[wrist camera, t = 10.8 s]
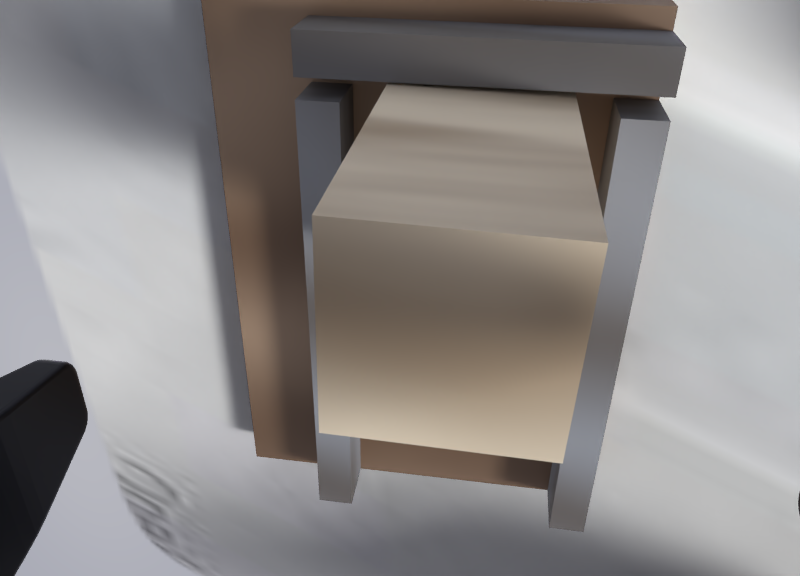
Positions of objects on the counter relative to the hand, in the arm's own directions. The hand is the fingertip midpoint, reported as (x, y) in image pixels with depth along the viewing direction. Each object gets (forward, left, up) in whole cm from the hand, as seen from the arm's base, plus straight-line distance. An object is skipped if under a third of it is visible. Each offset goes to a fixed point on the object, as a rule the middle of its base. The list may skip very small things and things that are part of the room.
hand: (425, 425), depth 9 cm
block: (0, 0, -10) cm, 10 cm away
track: (-4, +1, -11) cm, 12 cm away
